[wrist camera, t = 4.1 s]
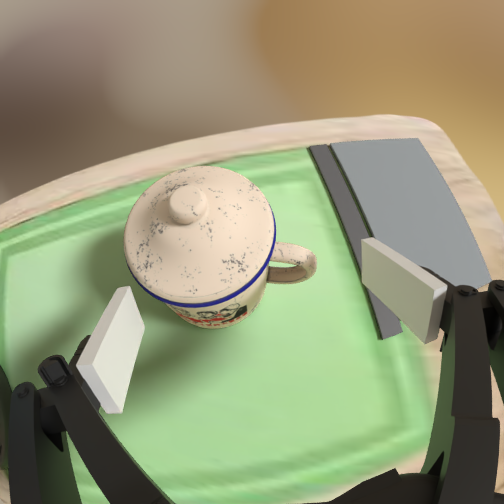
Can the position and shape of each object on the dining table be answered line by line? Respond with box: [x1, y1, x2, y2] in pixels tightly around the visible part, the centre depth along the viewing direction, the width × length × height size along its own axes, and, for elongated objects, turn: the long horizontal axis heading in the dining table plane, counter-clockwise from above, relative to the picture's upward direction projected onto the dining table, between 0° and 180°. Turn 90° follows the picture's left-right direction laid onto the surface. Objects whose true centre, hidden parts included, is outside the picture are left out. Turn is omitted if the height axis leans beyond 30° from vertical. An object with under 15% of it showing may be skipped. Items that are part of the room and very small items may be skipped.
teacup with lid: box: [124, 166, 317, 329], centre depth 19 cm, size 12×9×12 cm
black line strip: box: [309, 144, 403, 340], centre depth 26 cm, size 2×21×1 cm, turn 12°
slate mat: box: [330, 138, 492, 289], centre depth 27 cm, size 13×20×1 cm, turn 13°
